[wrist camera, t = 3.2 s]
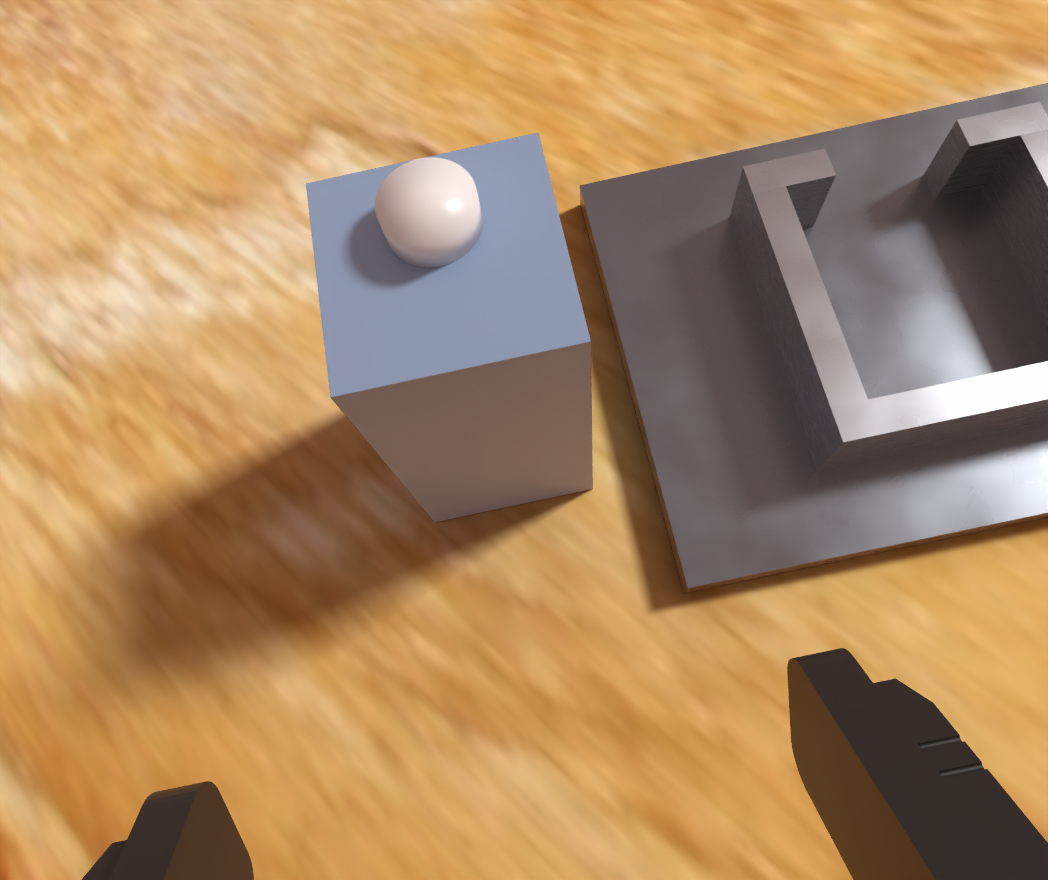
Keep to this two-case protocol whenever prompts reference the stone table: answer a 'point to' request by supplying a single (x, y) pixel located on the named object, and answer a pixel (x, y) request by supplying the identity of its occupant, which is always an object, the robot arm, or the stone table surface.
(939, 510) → the plate
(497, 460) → the block
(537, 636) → the stone table surface
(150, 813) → the robot arm
